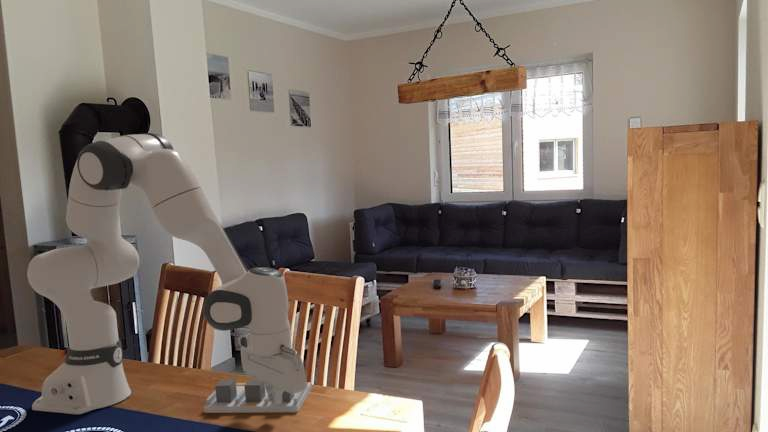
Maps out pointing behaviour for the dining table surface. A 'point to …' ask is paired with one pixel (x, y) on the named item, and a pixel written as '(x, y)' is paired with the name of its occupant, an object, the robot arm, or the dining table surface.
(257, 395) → the grey cubic block
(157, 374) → the dining table surface
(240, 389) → the switch board
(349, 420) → the dining table surface
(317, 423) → the dining table surface
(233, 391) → the gray cube
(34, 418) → the dining table surface
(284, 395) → the grey cube
